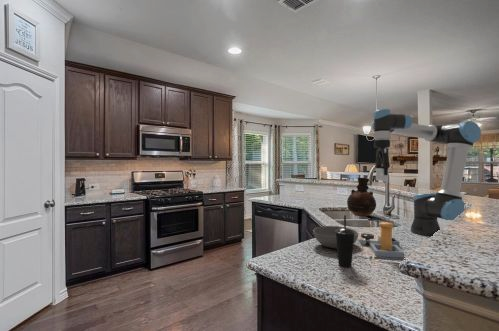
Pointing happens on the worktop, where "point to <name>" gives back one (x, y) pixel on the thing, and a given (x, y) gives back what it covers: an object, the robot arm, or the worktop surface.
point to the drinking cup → (345, 245)
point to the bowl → (329, 235)
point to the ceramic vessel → (361, 199)
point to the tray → (387, 252)
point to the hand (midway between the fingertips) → (381, 181)
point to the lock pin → (386, 236)
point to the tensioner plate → (367, 241)
